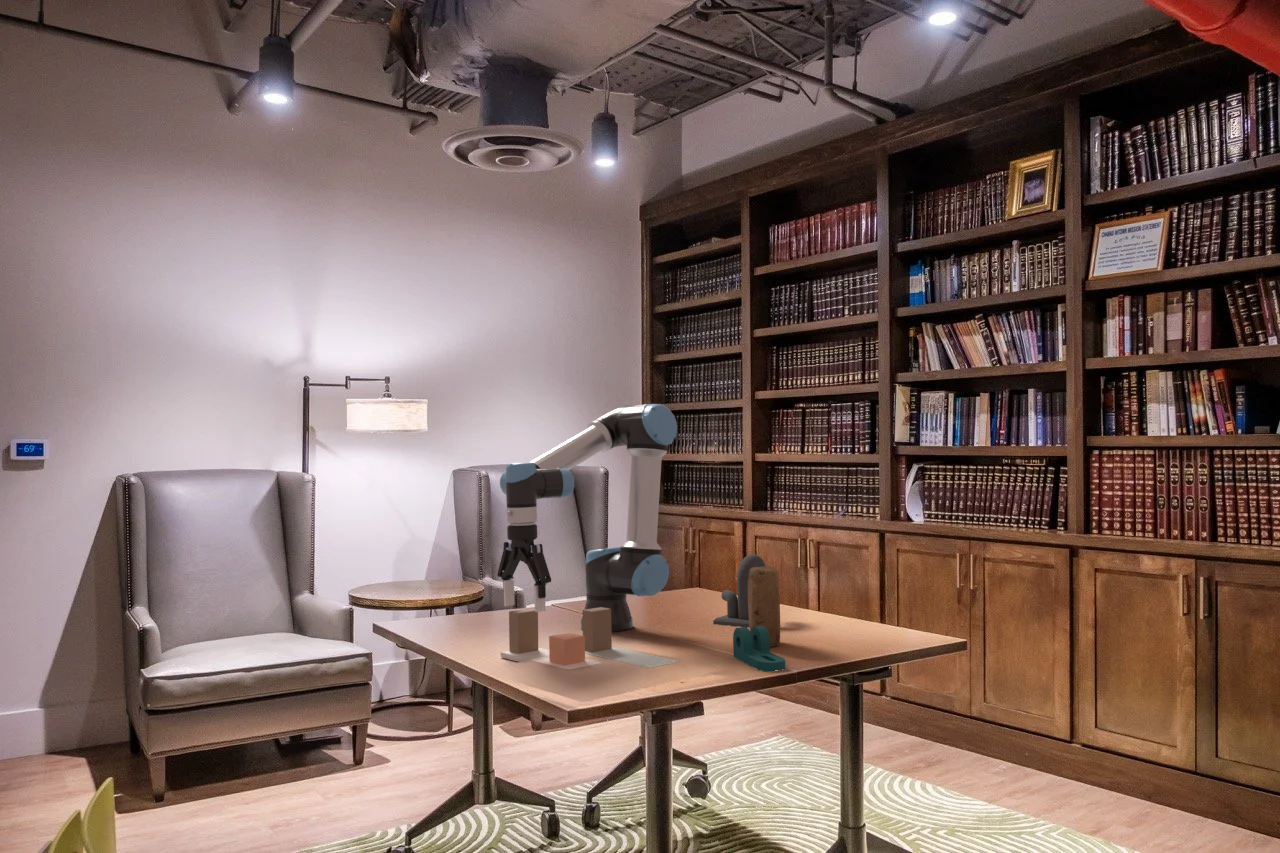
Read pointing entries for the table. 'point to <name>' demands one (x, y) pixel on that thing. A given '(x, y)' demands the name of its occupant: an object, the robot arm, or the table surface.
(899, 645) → the table surface
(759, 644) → the bracket
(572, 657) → the cube
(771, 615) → the block
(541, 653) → the cube strip
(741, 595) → the faucet
